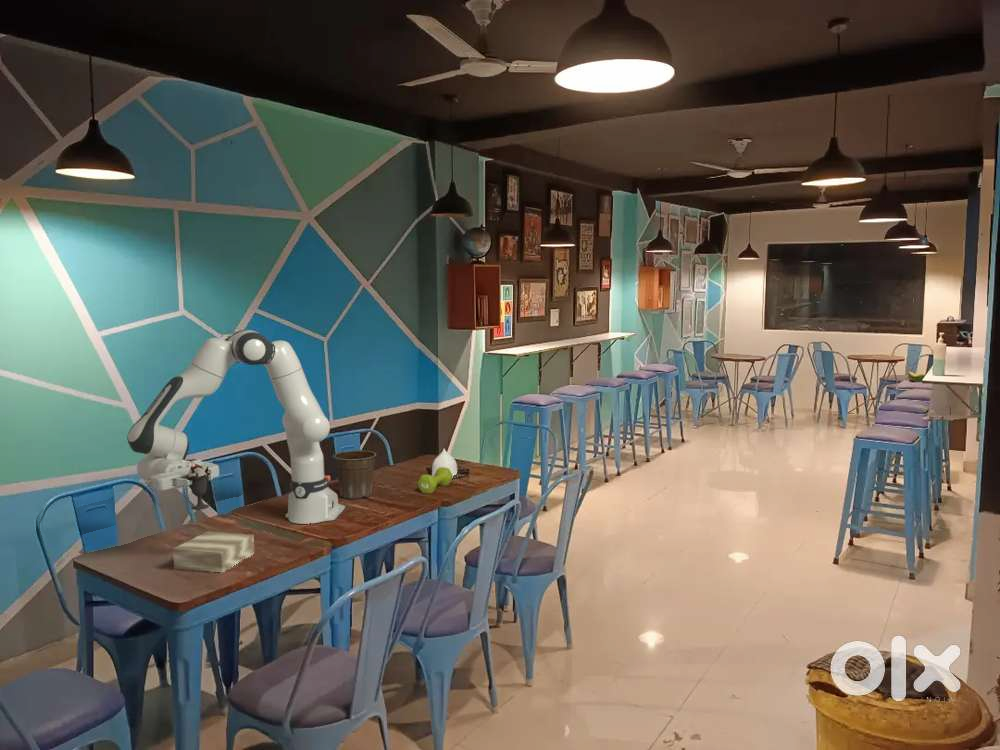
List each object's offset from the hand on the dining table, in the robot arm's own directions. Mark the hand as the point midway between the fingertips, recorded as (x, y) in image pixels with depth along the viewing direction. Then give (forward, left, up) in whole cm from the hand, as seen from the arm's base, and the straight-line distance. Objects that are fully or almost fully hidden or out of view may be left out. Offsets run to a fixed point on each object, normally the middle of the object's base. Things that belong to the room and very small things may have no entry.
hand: (200, 480), depth 224 cm
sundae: (0, -1, -9) cm, 9 cm away
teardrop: (-108, +40, -24) cm, 117 cm away
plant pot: (-72, +16, -24) cm, 77 cm away
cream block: (+3, +6, -23) cm, 24 cm away
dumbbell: (-87, +43, -24) cm, 100 cm away
